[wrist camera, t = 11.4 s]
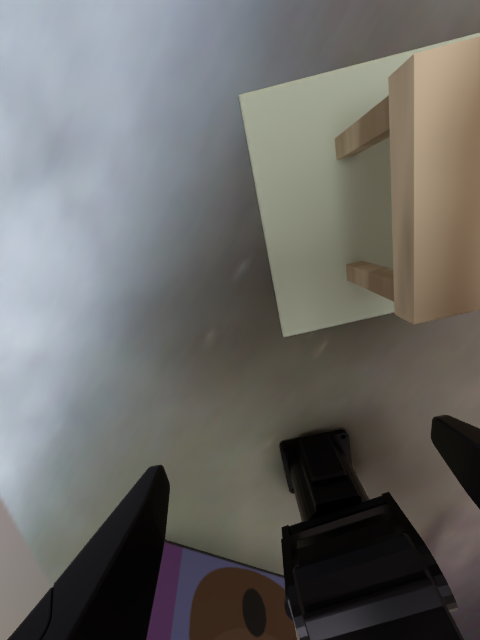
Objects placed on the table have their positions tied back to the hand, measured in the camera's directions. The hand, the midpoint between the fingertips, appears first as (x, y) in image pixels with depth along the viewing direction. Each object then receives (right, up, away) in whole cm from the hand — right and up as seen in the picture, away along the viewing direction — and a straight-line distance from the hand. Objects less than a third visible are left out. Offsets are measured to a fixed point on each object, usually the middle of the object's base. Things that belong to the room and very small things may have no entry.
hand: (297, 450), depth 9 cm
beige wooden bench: (+8, +12, +9) cm, 17 cm away
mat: (+8, +12, +10) cm, 17 cm away
